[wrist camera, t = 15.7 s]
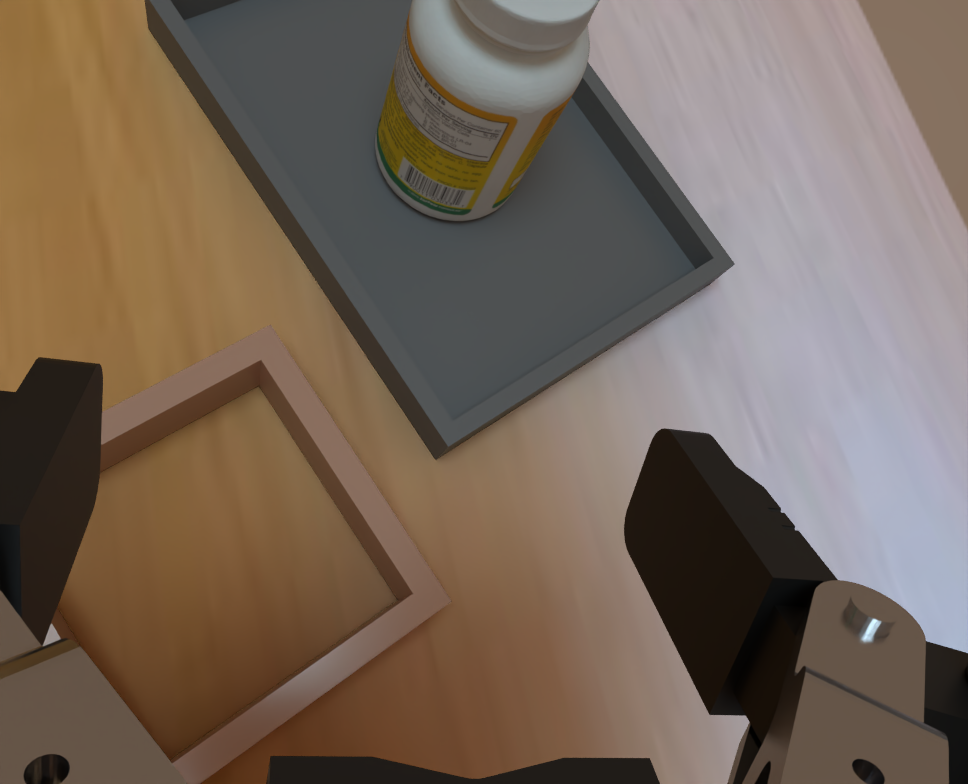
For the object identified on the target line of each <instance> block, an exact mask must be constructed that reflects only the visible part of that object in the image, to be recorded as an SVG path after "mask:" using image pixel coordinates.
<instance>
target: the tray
mask: <svg viewBox="0 0 968 784" xmlns="http://www.w3.org/2000/svg"><path fill="white" fill-rule="evenodd" d="M411 4H412V0H145V6H146V14H147V21H148V28H149V30H150V31H151V33H152V34H153V36H154V37H155V39H156V40H157V42H158V43H159V45H160V46H161V48H162V49H163V51H164V52H165V54H166V55H167V57H168V58H169V60H170V61H171V63H172V64H173V66H174V67H175V69H176V70H177V72H178V73H179V75H180V76H181V78H182V79H183V81H184V82H185V84H186V85H187V87H188V88H189V90H190V91H191V93H192V94H193V96H194V97H195V99H196V100H197V102H198V103H199V105H200V106H201V108H202V109H203V111H204V112H205V114H206V115H207V117H208V118H209V120H210V121H211V123H212V124H213V126H214V127H215V129H216V130H217V132H218V134H219V135H220V137H221V138H222V140H223V141H224V143H225V144H226V146H227V147H228V149H229V150H230V152H231V153H232V155H233V156H234V158H235V159H236V161H237V162H238V164H239V165H240V167H241V168H242V170H243V171H244V173H245V174H246V176H247V177H248V179H249V180H250V182H251V183H252V185H253V186H254V188H255V189H256V191H257V192H258V194H259V195H260V197H261V198H262V200H263V201H264V203H265V204H266V206H267V207H268V209H269V210H270V212H271V213H272V215H273V216H274V218H275V219H276V221H277V222H278V224H279V225H280V227H281V228H282V230H283V231H284V233H285V234H286V236H287V237H288V239H289V240H290V242H291V243H292V245H293V246H294V248H295V249H296V251H297V252H298V254H299V255H300V257H301V258H302V260H303V261H304V263H305V264H306V266H307V267H308V269H309V270H310V272H311V273H312V275H313V276H314V278H315V279H316V281H317V282H318V284H319V285H320V287H321V288H322V290H323V291H324V293H325V294H326V296H327V297H328V299H329V300H330V302H331V303H332V305H333V306H334V308H335V309H336V311H337V312H338V314H339V315H340V317H341V318H342V320H343V321H344V323H345V324H346V326H347V327H348V329H349V330H350V332H351V333H352V335H353V336H354V338H355V339H356V341H357V342H358V344H359V345H360V347H361V348H362V350H363V351H364V353H365V354H366V356H367V357H368V359H369V360H370V362H371V363H372V365H373V366H374V368H375V369H376V371H377V372H378V374H379V375H380V377H381V378H382V380H383V381H384V383H385V384H386V386H387V387H388V389H389V390H390V392H391V393H392V395H393V396H394V398H395V399H396V401H397V402H398V404H399V405H400V407H401V408H402V410H403V411H404V413H405V414H406V416H407V417H408V419H409V420H410V422H411V423H412V425H413V426H414V428H415V429H416V431H417V432H418V434H419V435H420V437H421V438H422V440H423V441H424V443H425V444H426V446H427V447H428V449H429V450H430V452H431V453H432V455H433V456H434V458H435V459H438V458H439V457H441V456H442V455H444V454H446V453H447V452H449V451H450V450H452V449H453V448H455V447H456V446H458V445H460V444H461V443H463V442H464V441H466V440H467V439H469V438H471V437H472V436H474V435H475V434H477V433H478V432H480V431H481V430H483V429H485V428H486V427H488V426H489V425H491V424H492V423H494V422H496V421H497V420H499V419H500V418H502V417H503V416H505V415H506V414H508V413H510V412H511V411H513V410H514V409H516V408H517V407H519V406H521V405H522V404H524V403H525V402H527V401H528V400H530V399H531V398H533V397H535V396H536V395H538V394H539V393H541V392H542V391H544V390H546V389H547V388H549V387H550V386H552V385H553V384H555V383H556V382H558V381H560V380H561V379H563V378H564V377H566V376H567V375H569V374H571V373H572V372H574V371H575V370H577V369H578V368H580V367H581V366H583V365H585V364H586V363H588V362H589V361H591V360H592V359H594V358H595V357H597V356H599V355H600V354H602V353H603V352H605V351H606V350H608V349H610V348H611V347H613V346H614V345H616V344H617V343H619V342H620V341H622V340H624V339H625V338H627V337H628V336H630V335H631V334H633V333H635V332H636V331H638V330H639V329H641V328H642V327H644V326H645V325H647V324H649V323H650V322H652V321H653V320H655V319H656V318H658V317H660V316H661V315H663V314H664V313H666V312H667V311H669V310H670V309H672V308H674V307H675V306H677V305H678V304H680V303H681V302H683V301H685V300H686V299H688V298H689V297H691V296H692V295H694V294H695V293H697V292H699V291H700V290H702V289H703V288H705V287H706V286H708V285H710V284H711V283H712V282H713V281H715V280H716V279H717V278H718V277H719V276H721V275H722V274H723V273H724V272H726V271H727V270H728V269H729V268H731V267H732V266H733V265H734V262H733V261H732V260H731V258H730V257H729V256H728V254H727V253H726V251H725V250H724V249H723V247H722V246H721V245H720V243H719V242H718V240H717V239H716V238H715V236H714V235H713V234H712V232H711V231H710V229H709V228H708V227H707V225H706V224H705V223H704V221H703V220H702V218H701V217H700V216H699V214H698V213H697V212H696V210H695V209H694V207H693V206H692V205H691V203H690V202H689V201H688V199H687V198H686V196H685V195H684V194H683V192H682V191H681V190H680V188H679V187H678V185H677V184H676V183H675V181H674V180H673V179H672V177H671V176H670V174H669V173H668V172H667V170H666V169H665V168H664V166H663V165H662V163H661V162H660V161H659V159H658V158H657V157H656V155H655V154H654V152H653V151H652V150H651V148H650V147H649V146H648V144H647V143H646V142H645V140H644V139H643V137H642V136H641V135H640V133H639V132H638V131H637V129H636V128H635V126H634V125H633V124H632V122H631V121H630V120H629V118H628V117H627V115H626V114H625V113H624V111H623V110H622V109H621V107H620V106H619V104H618V103H617V102H616V100H615V99H614V98H613V96H612V95H611V93H610V92H609V91H608V89H607V88H606V87H605V85H604V84H603V82H602V81H601V80H600V78H599V77H598V76H597V74H596V73H595V71H594V70H593V69H592V67H591V66H590V65H589V63H588V62H587V66H586V70H585V72H584V75H583V77H582V79H581V81H580V83H579V85H578V87H577V89H576V90H575V92H574V94H573V95H572V97H571V99H570V100H569V102H568V103H567V105H566V107H565V108H564V110H563V112H562V113H561V115H560V116H559V118H558V120H557V121H556V123H555V125H554V126H553V128H552V129H551V131H550V133H549V134H548V136H547V138H546V139H545V141H544V143H543V144H542V146H541V147H540V149H539V151H538V152H537V154H536V156H535V157H534V159H533V161H532V162H531V164H530V166H529V167H528V169H527V171H526V172H525V174H524V175H523V177H522V179H521V180H520V182H519V184H518V185H517V187H516V188H515V190H514V192H513V193H512V195H511V196H510V197H509V198H508V200H507V201H506V202H505V203H504V204H503V205H502V206H501V207H500V208H498V209H497V210H496V211H494V212H492V213H490V214H488V215H486V216H483V217H481V218H478V219H473V220H468V221H449V220H442V219H438V218H435V217H431V216H428V215H426V214H423V213H421V212H420V211H418V210H416V209H414V208H413V207H411V206H410V205H408V204H407V203H406V202H405V201H404V200H402V199H401V198H400V197H399V196H398V195H397V194H396V193H395V192H394V191H393V190H392V189H391V187H390V186H389V184H388V183H387V181H386V179H385V178H384V176H383V174H382V171H381V169H380V167H379V164H378V161H377V157H376V150H375V138H376V132H377V128H378V123H379V119H380V116H381V112H382V108H383V105H384V102H385V98H386V94H387V90H388V87H389V83H390V80H391V76H392V72H393V69H394V65H395V61H396V58H397V54H398V51H399V47H400V44H401V40H402V36H403V32H404V29H405V25H406V22H407V18H408V14H409V11H410V7H411Z"/></svg>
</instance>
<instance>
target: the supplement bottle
mask: <svg viewBox="0 0 968 784" xmlns="http://www.w3.org/2000/svg"><path fill="white" fill-rule="evenodd" d="M598 2H599V0H412V4H411V7H410V11H409V14H408V18H407V22H406V25H405V29H404V32H403V36H402V40H401V44H400V47H399V51H398V54H397V58H396V61H395V65H394V69H393V72H392V76H391V80H390V83H389V87H388V90H387V94H386V98H385V102H384V105H383V108H382V112H381V116H380V119H379V123H378V128H377V132H376V138H375V150H376V157H377V161H378V164H379V167H380V169H381V171H382V174H383V176H384V178H385V179H386V181H387V183H388V184H389V186H390V187H391V189H392V190H393V191H394V192H395V193H396V194H397V195H398V196H399V197H400V198H401V199H402V200H404V201H405V202H406V203H407V204H408V205H410V206H411V207H413V208H414V209H416V210H418V211H420V212H421V213H423V214H426V215H428V216H431V217H435V218H438V219H442V220H449V221H468V220H473V219H478V218H481V217H483V216H486V215H488V214H490V213H492V212H494V211H496V210H497V209H498V208H500V207H501V206H502V205H503V204H504V203H505V202H506V201H507V200H508V198H509V197H510V196H511V195H512V193H513V192H514V190H515V188H516V187H517V185H518V184H519V182H520V180H521V179H522V177H523V175H524V174H525V172H526V171H527V169H528V167H529V166H530V164H531V162H532V161H533V159H534V157H535V156H536V154H537V152H538V151H539V149H540V147H541V146H542V144H543V143H544V141H545V139H546V138H547V136H548V134H549V133H550V131H551V129H552V128H553V126H554V125H555V123H556V121H557V120H558V118H559V116H560V115H561V113H562V112H563V110H564V108H565V107H566V105H567V103H568V102H569V100H570V99H571V97H572V95H573V94H574V92H575V90H576V89H577V87H578V85H579V83H580V81H581V79H582V77H583V75H584V72H585V70H586V66H587V62H588V57H589V48H590V41H589V32H588V26H587V25H588V23H589V21H590V18H591V15H592V13H593V12H594V10H595V8H596V6H597V4H598Z"/></svg>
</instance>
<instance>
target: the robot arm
mask: <svg viewBox="0 0 968 784" xmlns="http://www.w3.org/2000/svg"><path fill="white" fill-rule="evenodd" d="M102 393H103V374H102V367H101V365H100V364H95V363H86V362H78V361H69V360H60V359H51V358H42V357H39V358H38V359H37V360H36V361H35V363H34V364H33V366H32V367H31V369H30V371H29V372H28V374H27V375H26V377H25V379H24V380H23V382H22V383H21V385H20V387H19V388H18V390H17V391H16V392H7V391H0V784H188V783H187V782H186V781H185V779H184V778H183V777H182V775H181V774H180V773H179V772H178V770H177V769H176V768H175V766H174V765H173V764H172V763H171V761H170V760H169V759H168V757H167V756H166V755H165V754H164V752H163V751H162V750H161V749H160V747H159V746H158V745H157V743H156V742H155V741H154V740H153V738H152V737H151V736H150V734H149V733H148V732H147V731H146V729H145V728H144V727H143V725H142V724H141V723H140V722H139V720H138V719H137V718H136V716H135V715H134V714H133V713H132V711H131V710H130V709H129V708H128V706H127V705H126V704H125V702H124V701H123V700H122V699H121V697H120V696H119V695H118V693H117V692H116V691H115V690H114V688H113V687H112V686H111V684H110V683H109V682H108V681H107V679H106V678H105V677H104V675H103V674H102V673H101V672H100V670H99V669H98V668H97V667H96V665H95V664H94V663H93V661H92V660H91V659H90V658H89V656H88V655H87V654H86V652H85V651H84V650H83V649H82V648H81V647H80V646H79V645H78V644H77V643H76V642H74V641H73V640H71V639H67V638H64V639H60V640H58V641H55V642H53V643H50V644H48V645H45V646H43V644H44V641H45V638H46V636H47V633H48V630H49V628H50V625H51V622H52V619H53V617H54V614H55V611H56V609H57V606H58V603H59V601H60V598H61V595H62V592H63V590H64V587H65V584H66V582H67V579H68V576H69V573H70V571H71V568H72V565H73V563H74V560H75V557H76V555H77V552H78V549H79V546H80V544H81V541H82V538H83V536H84V533H85V530H86V527H87V525H88V522H89V519H90V517H91V514H92V511H93V508H94V504H95V500H96V495H97V490H98V484H99V476H100V463H101V428H102ZM624 536H625V543H626V547H627V550H628V553H629V555H630V557H631V559H632V561H633V563H634V565H635V567H636V569H637V571H638V573H639V575H640V577H641V579H642V581H643V583H644V585H645V587H646V589H647V591H648V593H649V595H650V597H651V599H652V601H653V603H654V605H655V607H656V609H657V611H658V613H659V615H660V617H661V619H662V621H663V623H664V625H665V627H666V629H667V631H668V633H669V635H670V637H671V639H672V641H673V643H674V645H675V647H676V649H677V651H678V653H679V655H680V657H681V659H682V661H683V663H684V665H685V667H686V669H687V671H688V673H689V675H690V677H691V679H692V681H693V683H694V685H695V687H696V689H697V691H698V693H699V695H700V697H701V699H702V701H703V703H704V705H705V707H706V709H707V711H708V713H709V715H746V716H747V718H748V720H749V722H750V723H749V725H748V727H747V729H746V731H745V733H744V735H743V737H742V739H741V741H740V743H739V747H738V750H737V753H736V757H735V760H734V763H733V767H732V770H731V773H730V777H729V780H728V783H727V784H968V653H965V652H962V651H958V650H955V649H951V648H948V647H944V646H941V645H937V644H934V643H930V642H927V641H926V640H925V635H924V633H923V630H922V629H921V627H920V625H919V624H918V623H917V621H916V620H915V619H914V618H913V617H912V616H911V615H910V614H909V613H908V612H907V611H906V610H905V609H904V608H902V607H901V606H900V605H899V604H897V603H896V602H894V601H893V600H891V599H890V598H888V597H886V596H885V595H883V594H881V593H879V592H877V591H875V590H873V589H871V588H868V587H866V586H863V585H860V584H856V583H853V582H848V581H840V580H837V578H836V577H835V576H834V575H833V573H832V572H831V571H830V570H829V568H828V567H827V566H826V565H825V563H824V562H823V561H822V560H821V558H820V557H819V556H818V555H817V553H816V552H815V551H814V550H813V548H812V547H811V546H810V544H809V543H808V542H807V541H806V539H805V538H804V537H803V536H802V534H801V533H800V532H799V531H796V530H795V526H794V524H793V523H792V522H791V521H790V519H789V518H788V517H787V516H786V514H785V513H781V508H780V507H779V506H778V504H777V503H776V502H775V501H774V499H773V498H772V497H771V495H770V494H769V493H768V492H767V490H766V489H765V488H764V487H763V486H762V485H760V484H759V483H758V482H756V481H755V480H754V479H752V478H751V477H750V476H748V475H747V474H746V473H744V472H743V471H742V470H740V469H739V468H738V467H736V466H735V465H734V463H733V462H732V461H731V460H730V458H729V457H728V456H727V454H726V453H725V452H724V451H723V449H722V448H721V447H720V445H719V444H718V443H717V441H716V440H715V439H714V438H713V437H712V436H711V435H710V434H707V433H700V432H691V431H682V430H673V429H661V430H659V431H658V432H657V433H656V434H655V436H654V437H653V439H652V441H651V444H650V447H649V449H648V452H647V455H646V458H645V461H644V464H643V466H642V469H641V472H640V475H639V478H638V480H637V483H636V486H635V489H634V492H633V495H632V497H631V500H630V503H629V506H628V509H627V512H626V517H625V524H624ZM266 784H660V783H659V780H658V778H657V775H656V773H655V770H654V768H653V765H652V763H651V761H650V758H562V759H558V760H554V761H550V762H546V763H542V764H538V765H534V766H530V767H526V768H522V769H518V770H514V771H510V772H506V773H502V774H498V775H494V776H490V777H486V778H481V779H469V778H463V777H459V776H454V775H450V774H446V773H441V772H437V771H432V770H428V769H424V768H419V767H415V766H410V765H406V764H402V763H397V762H393V761H388V760H384V759H380V758H375V757H326V756H271V757H270V764H269V770H268V776H267V782H266Z"/></svg>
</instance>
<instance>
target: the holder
mask: <svg viewBox="0 0 968 784" xmlns="http://www.w3.org/2000/svg"><path fill="white" fill-rule="evenodd" d="M257 386H259V387H260V388H261V390H262V391H263V393H264V394H265V396H266V397H267V399H268V400H269V402H270V404H271V405H272V407H273V408H274V410H275V411H276V413H277V414H278V416H279V417H280V419H281V421H282V422H283V424H284V425H285V427H286V428H287V430H288V431H289V433H290V434H291V436H292V438H293V439H294V441H295V442H296V444H297V445H298V447H299V448H300V450H301V451H302V453H303V454H304V456H305V458H306V459H307V461H308V462H309V464H310V465H311V467H312V468H313V470H314V471H315V473H316V475H317V476H318V478H319V479H320V481H321V482H322V484H323V485H324V487H325V488H326V490H327V492H328V493H329V495H330V496H331V498H332V499H333V501H334V502H335V504H336V505H337V507H338V509H339V510H340V512H341V513H342V515H343V516H344V518H345V519H346V521H347V522H348V524H349V525H350V527H351V529H352V530H353V532H354V533H355V535H356V536H357V538H358V539H359V541H360V542H361V544H362V546H363V547H364V549H365V550H366V552H367V553H368V555H369V556H370V558H371V559H372V561H373V563H374V564H375V566H376V567H377V569H378V570H379V572H380V573H381V575H382V576H383V578H384V580H385V581H386V583H387V584H388V586H389V587H390V589H391V590H392V592H393V593H394V595H395V597H396V598H397V601H396V602H394V603H393V604H391V605H390V606H389V607H387V608H386V609H384V610H383V611H381V612H380V613H379V614H377V615H376V616H374V617H373V618H371V619H370V620H369V621H367V622H366V623H364V624H363V625H361V626H360V627H359V628H357V629H356V630H354V631H353V632H352V633H350V634H349V635H347V636H346V637H344V638H343V639H342V640H340V641H339V642H337V643H336V644H334V645H333V646H332V647H330V648H329V649H327V650H326V651H324V652H323V653H322V654H320V655H319V656H317V657H316V658H315V659H313V660H312V661H310V662H309V663H307V664H306V665H305V666H303V667H302V668H300V669H299V670H297V671H296V672H295V673H293V674H292V675H290V676H289V677H287V678H286V679H285V680H283V681H282V682H280V683H279V684H277V685H276V686H275V687H273V688H272V689H270V690H269V691H268V692H266V693H265V694H263V695H262V696H260V697H259V698H258V699H256V700H255V701H253V702H252V703H250V704H249V705H248V706H246V707H245V708H243V709H242V710H240V711H239V712H238V713H236V714H235V715H233V716H232V717H230V718H229V719H228V720H226V721H225V722H223V723H222V724H221V725H219V726H218V727H216V728H215V729H213V730H212V731H211V732H209V733H208V734H206V735H205V736H203V737H202V738H201V739H199V740H198V741H196V742H195V743H193V744H192V745H191V746H189V747H188V748H186V749H185V750H183V751H182V752H181V753H179V754H178V755H176V756H175V757H174V758H172V759H171V760H170V761H171V763H172V764H173V765H174V766H175V768H176V769H177V770H178V772H179V773H180V774H181V775H182V777H183V778H184V779H185V781H186V782H187V783H188V784H200V783H202V782H203V781H204V780H206V779H207V778H208V777H210V776H211V775H213V774H214V773H215V772H217V771H218V770H220V769H221V768H222V767H224V766H225V765H226V764H228V763H229V762H231V761H232V760H233V759H235V758H236V757H237V756H239V755H240V754H242V753H243V752H244V751H246V750H247V749H249V748H250V747H251V746H253V745H254V744H255V743H257V742H258V741H260V740H261V739H262V738H264V737H265V736H266V735H268V734H269V733H271V732H272V731H273V730H275V729H276V728H278V727H279V726H280V725H282V724H283V723H284V722H286V721H287V720H289V719H290V718H291V717H293V716H294V715H296V714H297V713H298V712H300V711H301V710H302V709H304V708H305V707H307V706H308V705H309V704H311V703H312V702H313V701H315V700H316V699H318V698H319V697H320V696H322V695H323V694H325V693H326V692H327V691H329V690H330V689H331V688H333V687H334V686H336V685H337V684H338V683H340V682H341V681H342V680H344V679H345V678H347V677H348V676H349V675H351V674H352V673H354V672H355V671H356V670H358V669H359V668H360V667H362V666H363V665H365V664H366V663H367V662H369V661H370V660H371V659H373V658H374V657H376V656H377V655H378V654H380V653H381V652H383V651H384V650H385V649H387V648H388V647H389V646H391V645H392V644H394V643H395V642H396V641H398V640H399V639H401V638H402V637H403V636H405V635H406V634H407V633H409V632H410V631H412V630H413V629H414V628H416V627H417V626H418V625H420V624H421V623H423V622H424V621H425V620H427V619H428V618H430V617H431V616H432V615H434V614H435V613H436V612H438V611H439V610H441V609H442V608H443V607H445V606H446V605H447V604H449V603H450V602H452V601H451V599H450V598H449V596H448V595H447V593H446V592H445V590H444V588H443V587H442V585H441V584H440V582H439V581H438V579H437V578H436V576H435V575H434V573H433V572H432V570H431V569H430V567H429V566H428V564H427V563H426V561H425V559H424V558H423V556H422V555H421V553H420V552H419V550H418V549H417V547H416V546H415V544H414V543H413V541H412V540H411V538H410V537H409V535H408V534H407V532H406V530H405V529H404V527H403V526H402V524H401V523H400V521H399V520H398V518H397V517H396V515H395V514H394V512H393V511H392V509H391V508H390V506H389V505H388V503H387V501H386V500H385V498H384V497H383V495H382V494H381V492H380V491H379V489H378V488H377V486H376V485H375V483H374V482H373V480H372V479H371V477H370V476H369V474H368V472H367V471H366V469H365V468H364V466H363V465H362V463H361V462H360V460H359V459H358V457H357V456H356V454H355V453H354V451H353V450H352V448H351V447H350V445H349V443H348V442H347V440H346V439H345V437H344V436H343V434H342V433H341V431H340V430H339V428H338V427H337V425H336V424H335V422H334V421H333V419H332V418H331V416H330V414H329V413H328V411H327V410H326V408H325V407H324V405H323V404H322V402H321V401H320V399H319V398H318V396H317V395H316V393H315V392H314V390H313V389H312V387H311V385H310V384H309V382H308V381H307V379H306V378H305V376H304V375H303V373H302V372H301V370H300V369H299V367H298V366H297V364H296V363H295V361H294V360H293V358H292V356H291V355H290V353H289V352H288V350H287V349H286V347H285V346H284V344H283V343H282V341H281V340H280V338H279V337H278V335H277V334H276V332H275V331H274V329H273V327H272V326H271V325H269V326H267V327H265V328H263V329H261V330H259V331H257V332H255V333H253V334H251V335H249V336H248V337H246V338H244V339H242V340H240V341H238V342H236V343H234V344H232V345H230V346H228V347H226V348H224V349H223V350H221V351H219V352H217V353H215V354H213V355H211V356H209V357H207V358H205V359H203V360H201V361H199V362H197V363H196V364H194V365H192V366H190V367H188V368H186V369H184V370H182V371H180V372H178V373H176V374H174V375H172V376H171V377H169V378H167V379H165V380H163V381H161V382H159V383H157V384H155V385H153V386H151V387H149V388H147V389H146V390H144V391H142V392H140V393H138V394H136V395H134V396H132V397H130V398H128V399H126V400H124V401H122V402H121V403H119V404H117V405H115V406H113V407H111V408H109V409H107V410H105V411H103V412H102V428H101V463H100V472H102V471H104V470H105V469H107V468H109V467H111V466H113V465H114V464H116V463H118V462H120V461H122V460H124V459H125V458H127V457H129V456H131V455H133V454H135V453H136V452H138V451H140V450H142V449H144V448H146V447H147V446H149V445H151V444H153V443H155V442H157V441H158V440H160V439H162V438H164V437H166V436H168V435H169V434H171V433H173V432H175V431H177V430H178V429H180V428H182V427H184V426H186V425H188V424H189V423H191V422H193V421H195V420H197V419H199V418H200V417H202V416H204V415H206V414H208V413H210V412H211V411H213V410H215V409H217V408H219V407H221V406H222V405H224V404H226V403H228V402H230V401H231V400H233V399H235V398H237V397H239V396H241V395H242V394H244V393H246V392H248V391H250V390H252V389H253V388H255V387H257ZM64 638H67V639H71V640H73V641H74V642H76V643H77V644H78V645H79V643H78V641H77V640H76V638H75V636H74V635H73V633H72V631H71V630H70V628H69V626H68V625H67V623H66V621H65V620H64V618H63V616H62V615H61V613H60V611H59V610H58V608H57V609H56V611H55V614H54V617H53V619H52V622H51V625H50V628H49V630H48V633H47V636H46V638H45V641H44V644H43V646H45V645H48V644H50V643H53V642H55V641H58V640H60V639H64ZM79 646H80V645H79ZM80 647H81V646H80Z"/></svg>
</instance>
